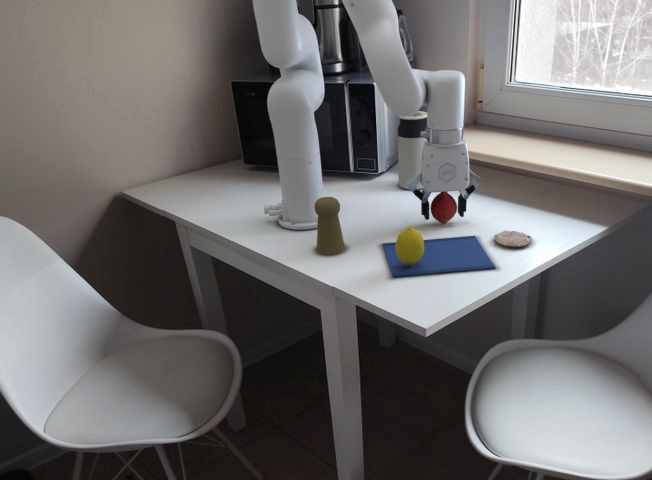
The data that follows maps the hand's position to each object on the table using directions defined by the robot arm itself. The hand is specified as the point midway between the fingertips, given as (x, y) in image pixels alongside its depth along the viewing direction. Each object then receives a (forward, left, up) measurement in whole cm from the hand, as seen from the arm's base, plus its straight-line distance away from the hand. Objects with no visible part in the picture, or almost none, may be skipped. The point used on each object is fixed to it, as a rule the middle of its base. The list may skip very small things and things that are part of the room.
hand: (443, 215), depth 139 cm
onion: (0, 0, -2) cm, 2 cm away
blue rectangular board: (-5, -17, -2) cm, 18 cm away
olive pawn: (-26, -9, -2) cm, 28 cm away
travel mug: (-2, +28, -2) cm, 28 cm away
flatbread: (+12, -13, -2) cm, 18 cm away
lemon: (-11, -21, -2) cm, 24 cm away
